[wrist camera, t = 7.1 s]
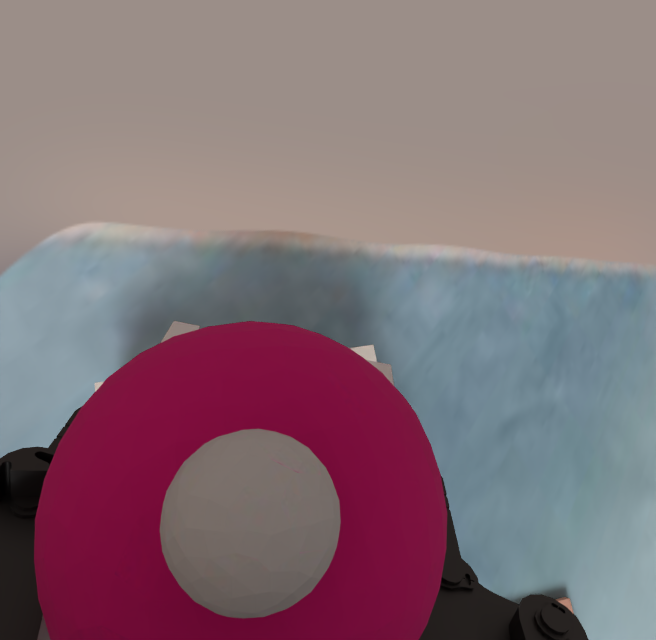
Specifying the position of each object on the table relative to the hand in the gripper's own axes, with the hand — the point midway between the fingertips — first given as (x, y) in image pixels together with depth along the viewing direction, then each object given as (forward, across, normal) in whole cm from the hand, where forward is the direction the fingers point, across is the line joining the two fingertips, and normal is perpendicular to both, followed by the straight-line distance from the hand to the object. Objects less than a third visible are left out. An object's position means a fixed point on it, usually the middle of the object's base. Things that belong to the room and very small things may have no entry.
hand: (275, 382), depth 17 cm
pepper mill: (+3, 0, -9) cm, 9 cm away
